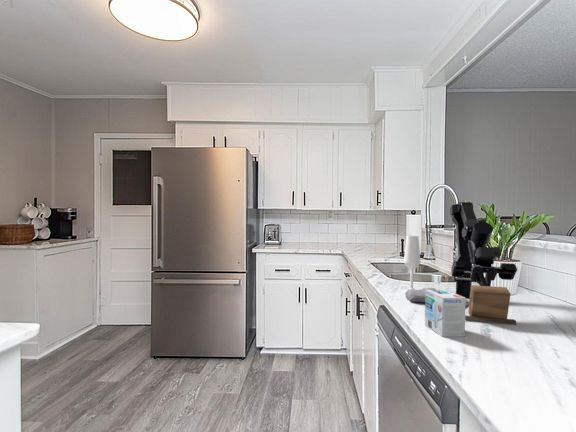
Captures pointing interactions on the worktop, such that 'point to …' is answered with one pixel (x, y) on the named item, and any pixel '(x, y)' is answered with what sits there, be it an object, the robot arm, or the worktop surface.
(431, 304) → the light bulb box
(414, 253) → the champagne flute
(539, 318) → the worktop surface
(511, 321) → the grey rectangular bar
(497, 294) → the light brown wooden block
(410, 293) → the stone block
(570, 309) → the worktop surface
